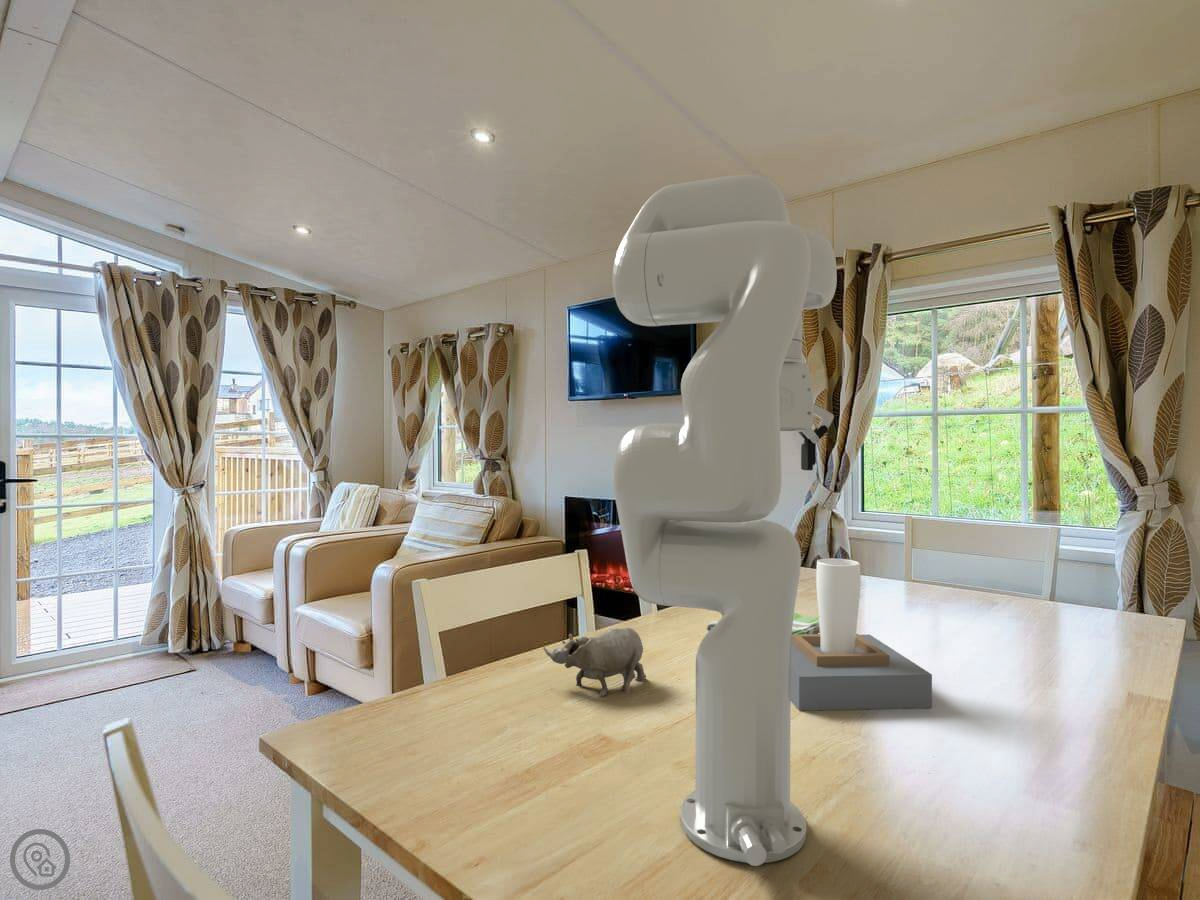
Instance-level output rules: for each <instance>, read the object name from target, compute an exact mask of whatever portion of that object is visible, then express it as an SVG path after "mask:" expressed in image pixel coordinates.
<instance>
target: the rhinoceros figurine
mask: <svg viewBox="0 0 1200 900" xmlns="http://www.w3.org/2000/svg"><path fill="white" fill-rule="evenodd" d="M568 639H569V642H567V643H566V642H565V640H562V641H561V643H562V644H564V646H563V647H562V648H559V647H555V648H554V649H553V650H552V651H550V650H548V649H547V648H546V647H545V646H543V647H542V648H543V650H544V652H545V654H546V655H547V656H548V657H550V659H551V660H552V661H553V663H556V664H559V665H560V664H561V665H563V664H564V667H565V668H566V669H571V668H572V667H575V668H578V669H580V670H579V671H578V672H577V674H576V677H575V679H576V686H578V687H577V688H580V686H582V679H583V678H586V679H589V680H594V681H595V680H598V681H599V682H600V684H601V690H600V692H599V694H598V697H600V698H602V697H604V696H607V695H608V690H609V689H608V686H607V683H606V679H607V678H610V677H613V676H616V675H622V677H623V683H622V686H621V688H620V689H621V690H620V691H621V692H622V693H630V692H631V682H632V681H633V680H634V681H636V682H638V683H639V682H640V683H641V682H643V683H644V682H646V681H647V676H646V674H645V671H644V667H643V664H642V663H640V660H641V658H642V656H643V653H644V646H643V642H642V639H641V637H640V635H639V633H638V632H637V631H636V630H635V629H633V628H630V627H624V628H611V629H608V630H607V631H604V633H601V634H599V635H598V636H595V637H591V636H590V637H587V636H580V637H577V638H575V639H574V637H573V634H572V633H569V634H568ZM580 684H581V685H580ZM576 686H575V687H576Z"/></svg>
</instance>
